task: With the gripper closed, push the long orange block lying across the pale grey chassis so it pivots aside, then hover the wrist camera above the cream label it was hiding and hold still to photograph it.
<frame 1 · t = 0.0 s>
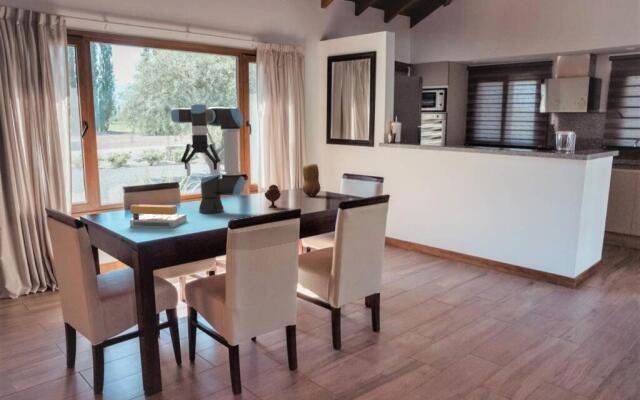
hand: (201, 176, 250), 28 cm above the table, fingers open, 13 cm apart
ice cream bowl: (273, 207, 320), on the table
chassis: (159, 224, 266), on the table
butternut squash: (311, 196, 368), on the table
long orange block: (152, 209, 259), point 9 cm above the table, hinge at 0.0°
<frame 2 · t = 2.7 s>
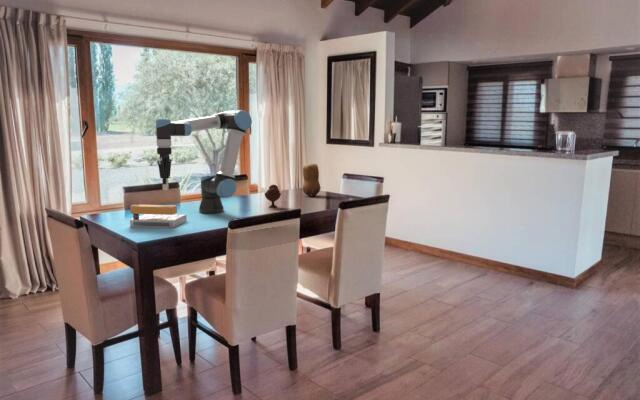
hand: (165, 189, 267), 18 cm above the table, fingers closed
nothing on the table moved.
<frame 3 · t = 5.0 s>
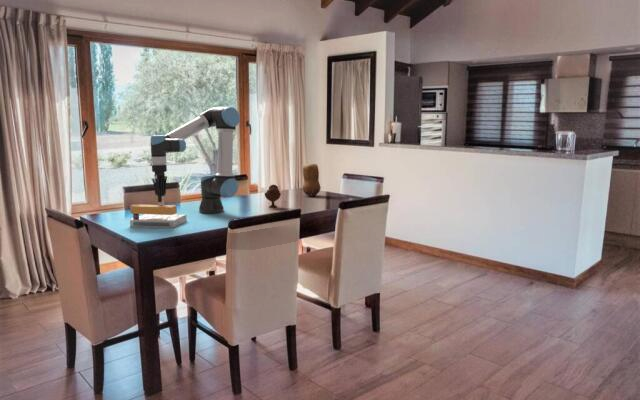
hand: (161, 207, 262), 10 cm above the table, fingers closed
long orange block: (152, 209, 259), point 9 cm above the table, hinge at -1.3°, touching gripper
everything else where it was.
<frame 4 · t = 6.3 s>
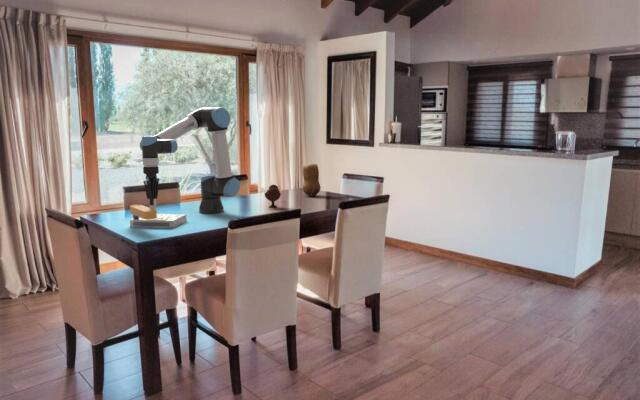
hand: (153, 211, 253), 10 cm above the table, fingers closed
long orange block: (142, 211, 253), point 9 cm above the table, hinge at -43.1°, touching gripper
everything else where it was.
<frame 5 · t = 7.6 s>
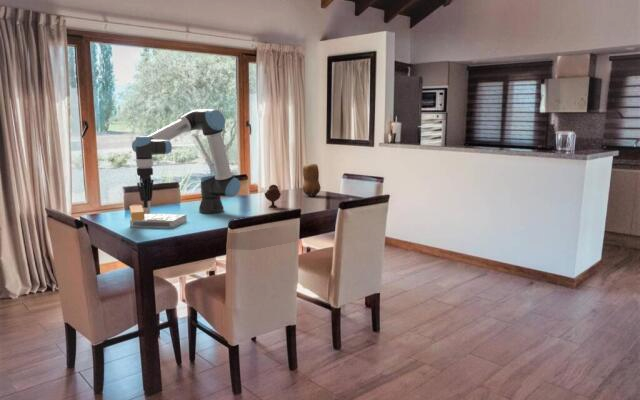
hand: (147, 213, 246), 9 cm above the table, fingers closed
long orange block: (136, 212, 251), point 9 cm above the table, hinge at -58.9°, touching gripper
everything else where it was.
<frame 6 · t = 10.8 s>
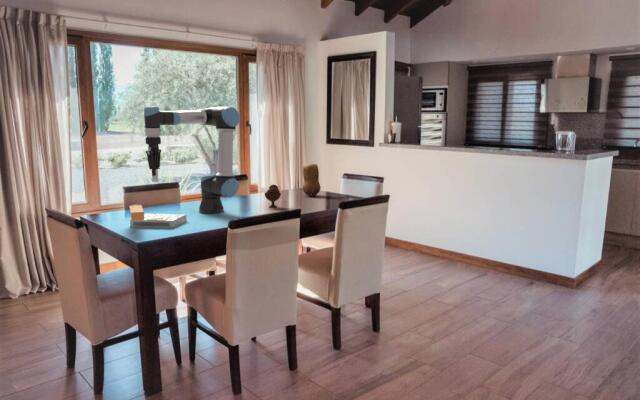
hand: (155, 181, 256), 24 cm above the table, fingers closed
long orange block: (136, 212, 251), point 9 cm above the table, hinge at -59.4°
everything else where it was.
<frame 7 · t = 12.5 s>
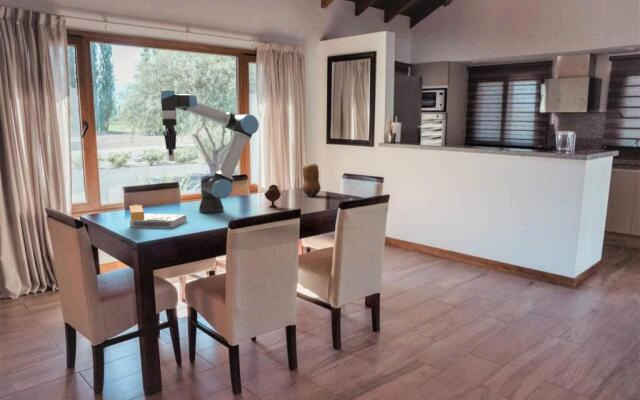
hand: (171, 160, 273), 34 cm above the table, fingers closed
nothing on the table moved.
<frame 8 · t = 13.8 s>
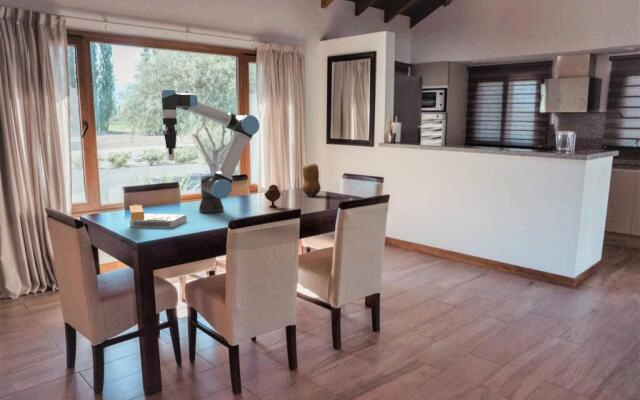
hand: (171, 159, 273), 34 cm above the table, fingers closed
nothing on the table moved.
at the end: long orange block at -59° (first picture: +0°) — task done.
